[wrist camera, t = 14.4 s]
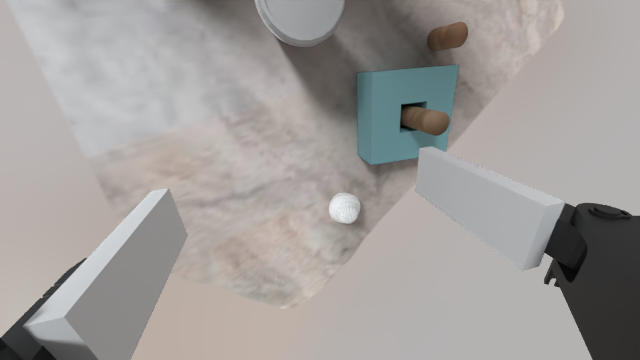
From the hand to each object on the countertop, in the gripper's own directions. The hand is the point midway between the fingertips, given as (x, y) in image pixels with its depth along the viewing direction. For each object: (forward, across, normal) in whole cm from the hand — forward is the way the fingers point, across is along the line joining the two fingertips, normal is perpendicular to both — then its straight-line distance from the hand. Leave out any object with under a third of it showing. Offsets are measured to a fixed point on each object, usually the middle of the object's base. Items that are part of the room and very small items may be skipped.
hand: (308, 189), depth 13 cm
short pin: (+29, +28, +9) cm, 41 cm away
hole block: (+29, +21, -2) cm, 35 cm away
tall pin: (+29, +21, -2) cm, 35 cm away
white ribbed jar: (+29, +10, -18) cm, 35 cm away
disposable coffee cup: (+29, +4, +13) cm, 32 cm away
